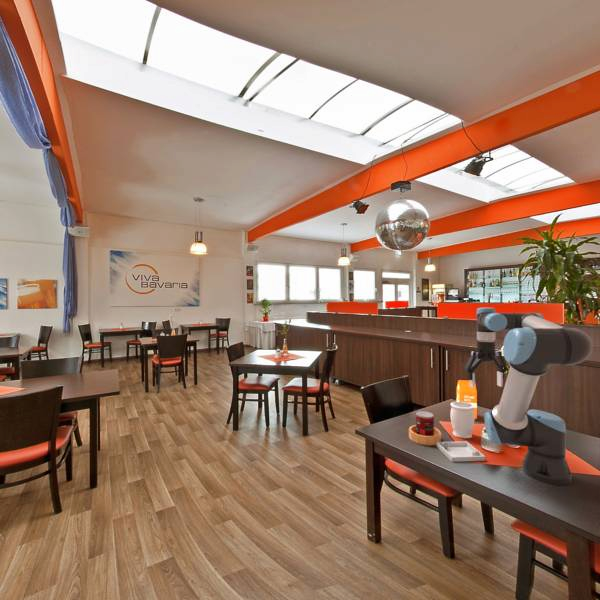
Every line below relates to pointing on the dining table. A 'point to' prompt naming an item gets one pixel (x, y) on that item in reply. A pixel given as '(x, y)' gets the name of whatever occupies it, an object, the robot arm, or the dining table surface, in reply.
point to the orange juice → (467, 394)
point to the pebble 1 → (444, 445)
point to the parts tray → (460, 451)
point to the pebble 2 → (475, 453)
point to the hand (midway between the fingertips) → (486, 386)
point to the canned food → (424, 423)
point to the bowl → (424, 437)
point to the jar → (462, 419)
